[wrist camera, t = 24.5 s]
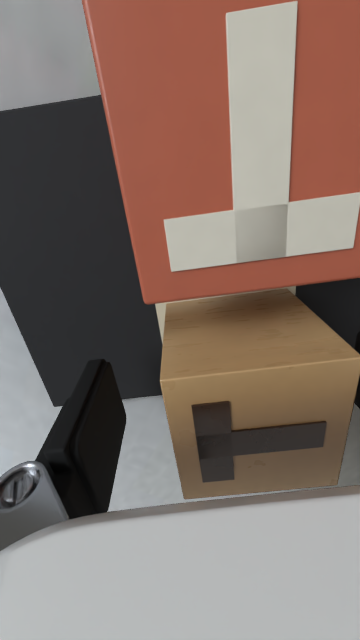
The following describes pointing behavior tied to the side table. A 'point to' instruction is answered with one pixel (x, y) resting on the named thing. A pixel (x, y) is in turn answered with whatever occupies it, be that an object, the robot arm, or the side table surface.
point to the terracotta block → (233, 140)
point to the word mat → (92, 255)
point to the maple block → (255, 394)
